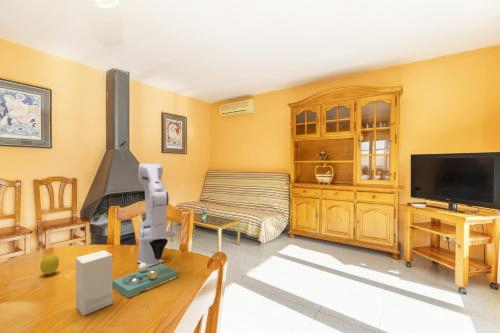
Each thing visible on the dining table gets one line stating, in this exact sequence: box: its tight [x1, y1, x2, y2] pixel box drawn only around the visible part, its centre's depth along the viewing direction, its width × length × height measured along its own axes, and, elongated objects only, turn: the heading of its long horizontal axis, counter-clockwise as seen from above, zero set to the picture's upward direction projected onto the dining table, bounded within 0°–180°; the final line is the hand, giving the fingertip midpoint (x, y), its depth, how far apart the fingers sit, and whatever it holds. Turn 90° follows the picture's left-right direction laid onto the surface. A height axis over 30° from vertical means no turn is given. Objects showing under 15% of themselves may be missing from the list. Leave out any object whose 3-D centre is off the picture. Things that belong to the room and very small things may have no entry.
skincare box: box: [75, 249, 113, 317], centre depth 75 cm, size 8×7×16 cm
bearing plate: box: [112, 263, 179, 298], centre depth 90 cm, size 19×11×2 cm, turn 143°
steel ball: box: [130, 278, 140, 283], centre depth 87 cm, size 3×3×3 cm
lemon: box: [39, 253, 60, 275], centre depth 95 cm, size 6×6×8 cm
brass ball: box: [148, 270, 158, 280], centre depth 88 cm, size 3×3×3 cm
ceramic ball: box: [138, 263, 149, 272], centre depth 94 cm, size 3×3×3 cm
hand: (158, 258), depth 94 cm, fingers closed
